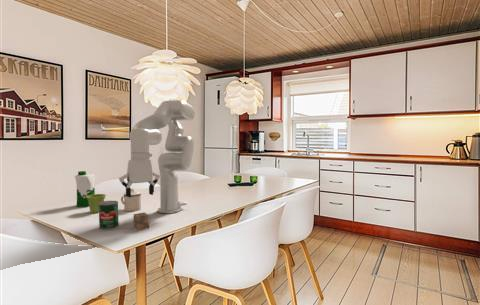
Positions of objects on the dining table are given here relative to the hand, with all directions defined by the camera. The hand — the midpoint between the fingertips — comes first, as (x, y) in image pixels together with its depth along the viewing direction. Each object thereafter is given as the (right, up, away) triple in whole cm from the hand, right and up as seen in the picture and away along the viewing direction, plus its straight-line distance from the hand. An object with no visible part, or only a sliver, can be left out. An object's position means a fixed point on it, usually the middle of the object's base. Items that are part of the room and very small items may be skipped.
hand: (140, 195), depth 123 cm
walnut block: (0, -14, +1) cm, 15 cm away
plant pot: (-34, -13, +28) cm, 46 cm away
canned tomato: (-15, -15, +2) cm, 21 cm away
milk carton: (-47, -12, +42) cm, 64 cm away
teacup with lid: (-17, -13, +33) cm, 40 cm away
